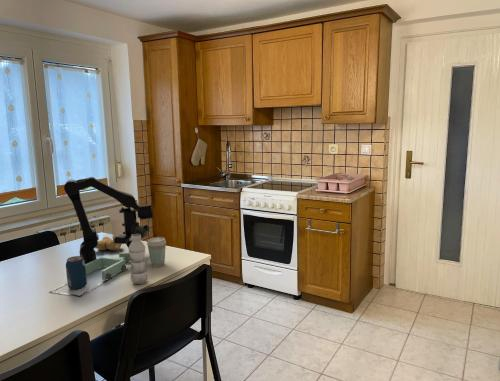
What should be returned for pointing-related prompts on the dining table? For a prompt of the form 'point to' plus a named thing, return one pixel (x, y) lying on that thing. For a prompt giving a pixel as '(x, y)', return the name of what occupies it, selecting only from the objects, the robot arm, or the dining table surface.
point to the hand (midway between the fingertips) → (132, 252)
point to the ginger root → (108, 244)
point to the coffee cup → (157, 251)
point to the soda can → (76, 273)
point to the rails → (86, 291)
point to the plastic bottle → (137, 260)
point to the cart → (109, 265)
